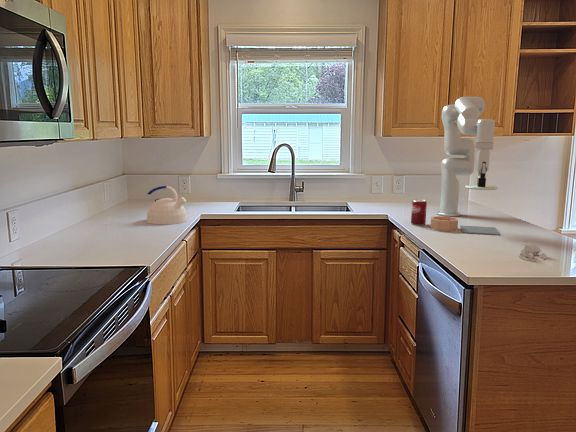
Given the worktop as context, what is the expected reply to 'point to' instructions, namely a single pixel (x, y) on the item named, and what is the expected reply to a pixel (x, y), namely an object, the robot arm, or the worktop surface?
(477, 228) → the mat
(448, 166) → the robot arm
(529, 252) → the fabric
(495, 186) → the lid
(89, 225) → the worktop surface
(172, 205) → the kettle
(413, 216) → the soda can
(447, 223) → the bowl
